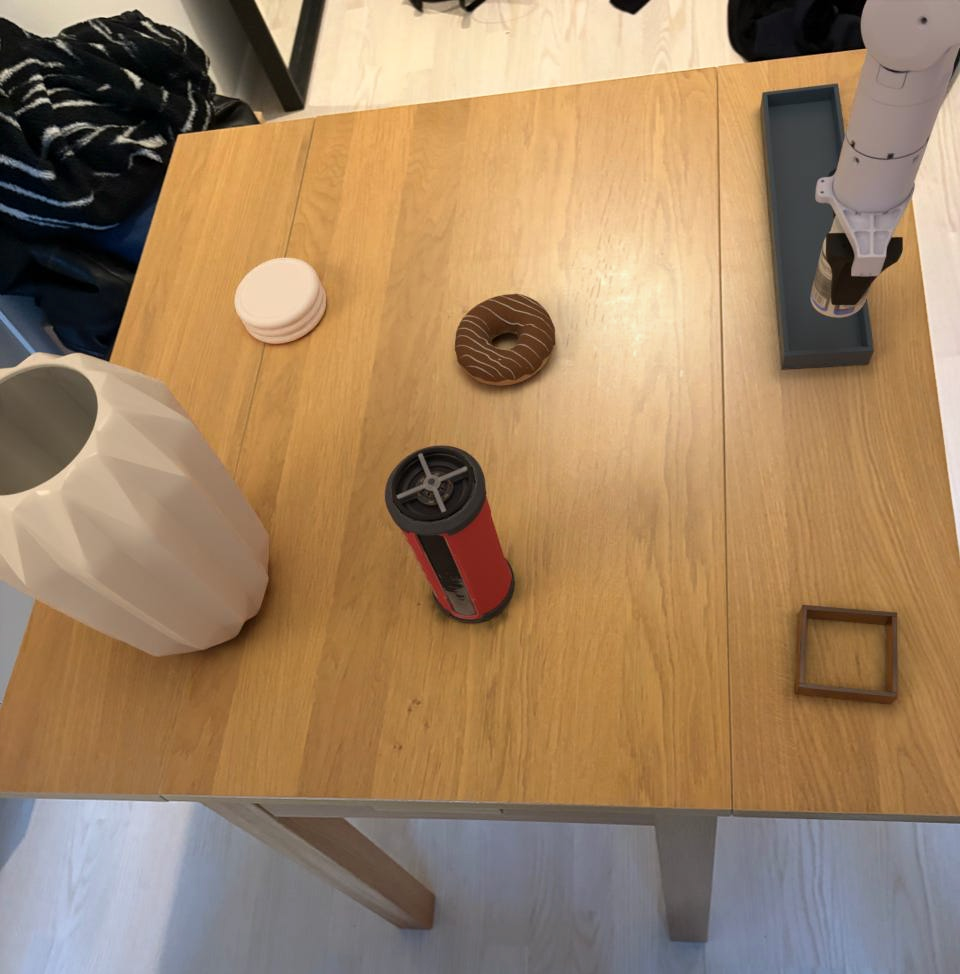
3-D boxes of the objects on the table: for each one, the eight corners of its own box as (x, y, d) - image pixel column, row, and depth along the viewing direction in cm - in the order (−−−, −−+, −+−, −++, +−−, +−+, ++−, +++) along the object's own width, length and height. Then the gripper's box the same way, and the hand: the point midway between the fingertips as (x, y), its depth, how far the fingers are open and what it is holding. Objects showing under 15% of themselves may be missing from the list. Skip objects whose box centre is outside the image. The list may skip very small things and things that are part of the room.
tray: (759, 109, 94) (762, 92, 92) (834, 100, 92) (838, 82, 90) (781, 369, 80) (784, 355, 78) (868, 364, 79) (874, 350, 77)
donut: (531, 298, 89) (527, 270, 85) (574, 365, 85) (571, 338, 81) (443, 340, 89) (434, 313, 85) (480, 409, 85) (473, 383, 81)
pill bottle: (871, 284, 74) (899, 204, 66) (856, 324, 72) (883, 247, 65) (818, 274, 75) (838, 194, 68) (802, 313, 74) (821, 236, 66)
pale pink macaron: (304, 353, 92) (292, 330, 89) (231, 337, 95) (217, 315, 92) (342, 286, 95) (331, 261, 92) (269, 272, 98) (257, 248, 94)
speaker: (527, 605, 75) (497, 501, 59) (450, 637, 76) (399, 542, 59) (498, 538, 79) (462, 423, 62) (424, 569, 79) (368, 462, 62)
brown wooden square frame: (798, 613, 71) (802, 604, 69) (891, 621, 69) (897, 612, 67) (795, 694, 68) (798, 687, 66) (891, 704, 66) (897, 697, 65)
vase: (154, 504, 87) (-39, 315, 62) (323, 515, 83) (189, 317, 58) (93, 675, 81) (-150, 540, 56) (274, 697, 76) (98, 561, 51)
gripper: (831, 66, 63) (799, 216, 75) (826, 207, 58) (793, 343, 70) (932, 60, 61) (882, 215, 73) (936, 204, 56) (882, 344, 68)
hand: (844, 277), depth 72 cm, fingers closed on pill bottle, 5 cm apart
